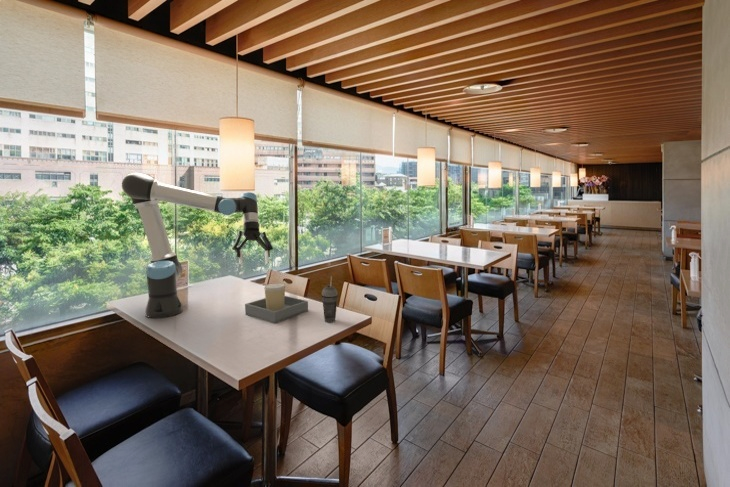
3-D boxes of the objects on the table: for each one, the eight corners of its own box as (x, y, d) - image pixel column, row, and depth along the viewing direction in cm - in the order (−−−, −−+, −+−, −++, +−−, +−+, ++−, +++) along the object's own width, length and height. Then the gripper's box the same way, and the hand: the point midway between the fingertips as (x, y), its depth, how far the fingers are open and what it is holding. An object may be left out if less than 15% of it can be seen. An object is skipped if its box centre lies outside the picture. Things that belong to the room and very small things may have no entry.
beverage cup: (329, 317, 168) (329, 273, 165) (341, 320, 164) (341, 275, 161) (318, 321, 163) (317, 276, 160) (330, 325, 158) (329, 278, 155)
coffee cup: (288, 308, 178) (287, 283, 176) (282, 314, 168) (281, 288, 167) (269, 307, 179) (268, 282, 177) (262, 313, 169) (261, 287, 168)
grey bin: (275, 323, 160) (274, 312, 159) (245, 314, 171) (244, 304, 171) (308, 311, 176) (307, 301, 175) (278, 303, 188) (278, 294, 187)
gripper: (270, 226, 201) (274, 265, 196) (223, 223, 184) (226, 265, 180) (277, 222, 195) (280, 262, 191) (229, 218, 179) (232, 262, 174)
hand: (254, 263), depth 185 cm, fingers open, 13 cm apart
